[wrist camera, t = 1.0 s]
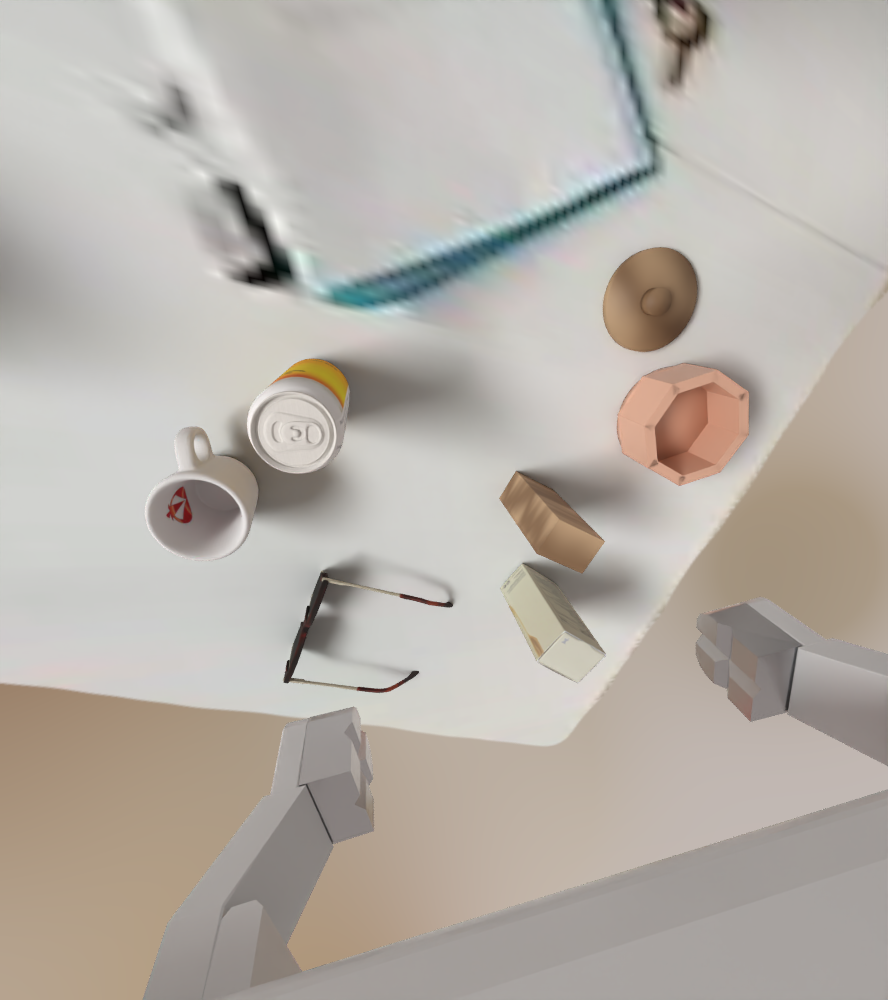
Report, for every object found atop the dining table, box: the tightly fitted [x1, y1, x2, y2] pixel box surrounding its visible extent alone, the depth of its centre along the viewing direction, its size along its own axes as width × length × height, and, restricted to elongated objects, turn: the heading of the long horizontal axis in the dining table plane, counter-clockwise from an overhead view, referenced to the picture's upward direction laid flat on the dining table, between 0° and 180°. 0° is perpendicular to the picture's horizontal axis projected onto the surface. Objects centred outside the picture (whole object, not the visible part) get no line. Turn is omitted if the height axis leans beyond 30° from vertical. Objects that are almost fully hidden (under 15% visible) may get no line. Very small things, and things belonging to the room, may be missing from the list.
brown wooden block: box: [499, 471, 605, 573], centre depth 45 cm, size 4×5×12 cm
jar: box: [617, 363, 749, 486], centre depth 47 cm, size 11×11×6 cm
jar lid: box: [603, 247, 697, 352], centre depth 43 cm, size 9×9×2 cm
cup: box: [145, 427, 258, 561], centre depth 40 cm, size 11×8×8 cm
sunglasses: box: [283, 571, 453, 693], centre depth 52 cm, size 14×16×5 cm
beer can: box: [247, 359, 350, 474], centre depth 36 cm, size 6×6×15 cm
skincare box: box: [500, 564, 606, 683], centre depth 50 cm, size 6×4×12 cm
